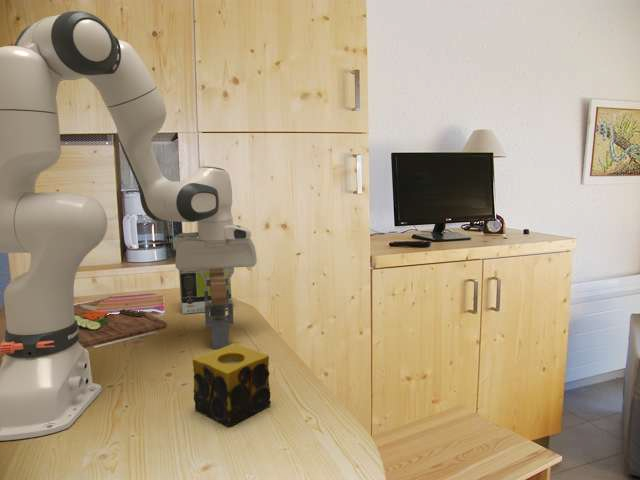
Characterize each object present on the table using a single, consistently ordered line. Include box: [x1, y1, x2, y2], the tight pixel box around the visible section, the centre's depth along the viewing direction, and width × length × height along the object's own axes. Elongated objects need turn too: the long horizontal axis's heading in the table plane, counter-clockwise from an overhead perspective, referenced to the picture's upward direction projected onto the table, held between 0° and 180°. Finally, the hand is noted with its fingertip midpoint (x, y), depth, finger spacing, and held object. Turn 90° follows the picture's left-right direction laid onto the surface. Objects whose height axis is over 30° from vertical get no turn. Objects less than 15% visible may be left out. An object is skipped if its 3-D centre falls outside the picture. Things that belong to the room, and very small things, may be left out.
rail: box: [209, 268, 227, 305], centre depth 125 cm, size 20×4×5 cm, turn 14°
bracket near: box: [204, 298, 234, 350], centre depth 119 cm, size 4×7×11 cm, turn 104°
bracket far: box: [204, 287, 230, 328], centre depth 133 cm, size 4×7×11 cm, turn 104°
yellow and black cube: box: [192, 342, 272, 428], centre depth 88 cm, size 10×10×10 cm
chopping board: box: [74, 298, 168, 350], centre depth 140 cm, size 45×27×3 cm, turn 44°
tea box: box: [178, 268, 232, 315], centre depth 152 cm, size 15×10×15 cm, turn 108°
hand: (217, 285), depth 125 cm, fingers closed on rail, 3 cm apart
